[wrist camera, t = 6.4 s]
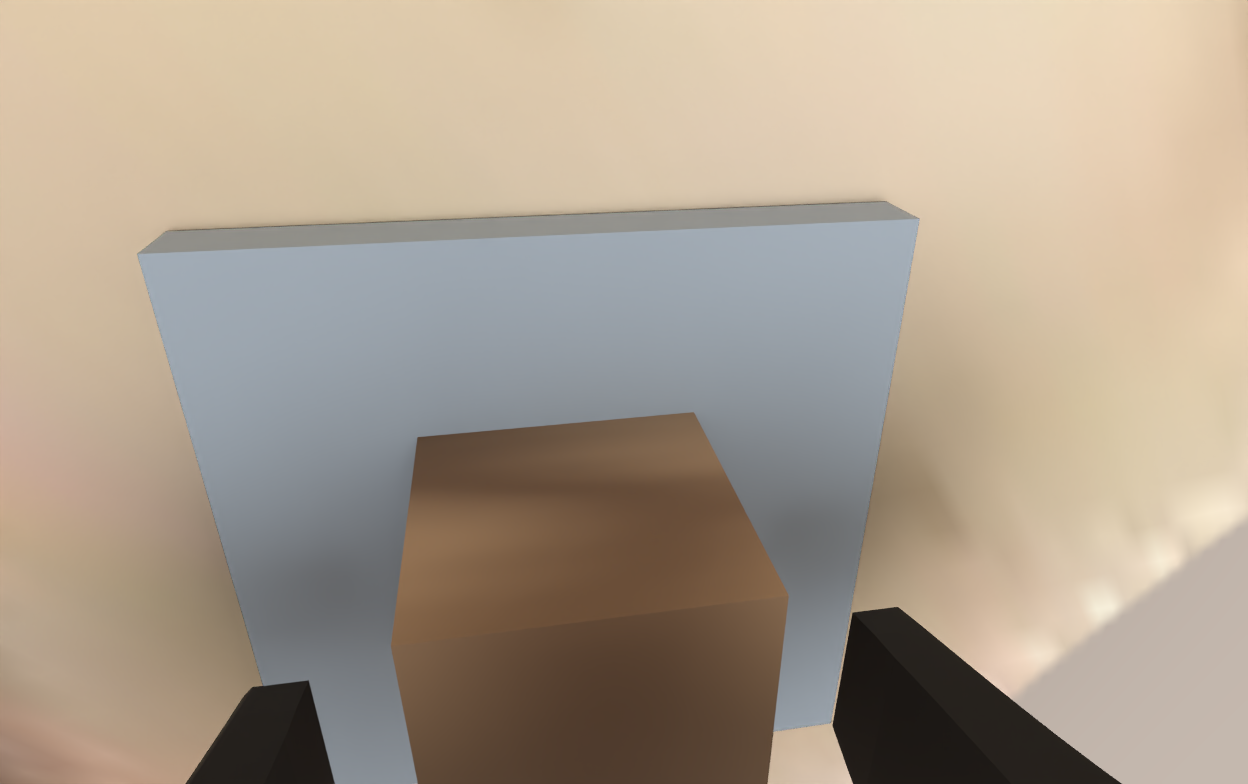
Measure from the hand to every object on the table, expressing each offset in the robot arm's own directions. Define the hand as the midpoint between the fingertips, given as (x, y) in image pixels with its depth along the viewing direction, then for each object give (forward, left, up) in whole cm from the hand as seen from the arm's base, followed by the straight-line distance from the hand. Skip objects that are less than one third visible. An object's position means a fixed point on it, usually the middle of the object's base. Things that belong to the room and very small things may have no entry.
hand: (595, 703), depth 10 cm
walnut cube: (0, 0, -3) cm, 3 cm away
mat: (0, 0, -4) cm, 4 cm away
